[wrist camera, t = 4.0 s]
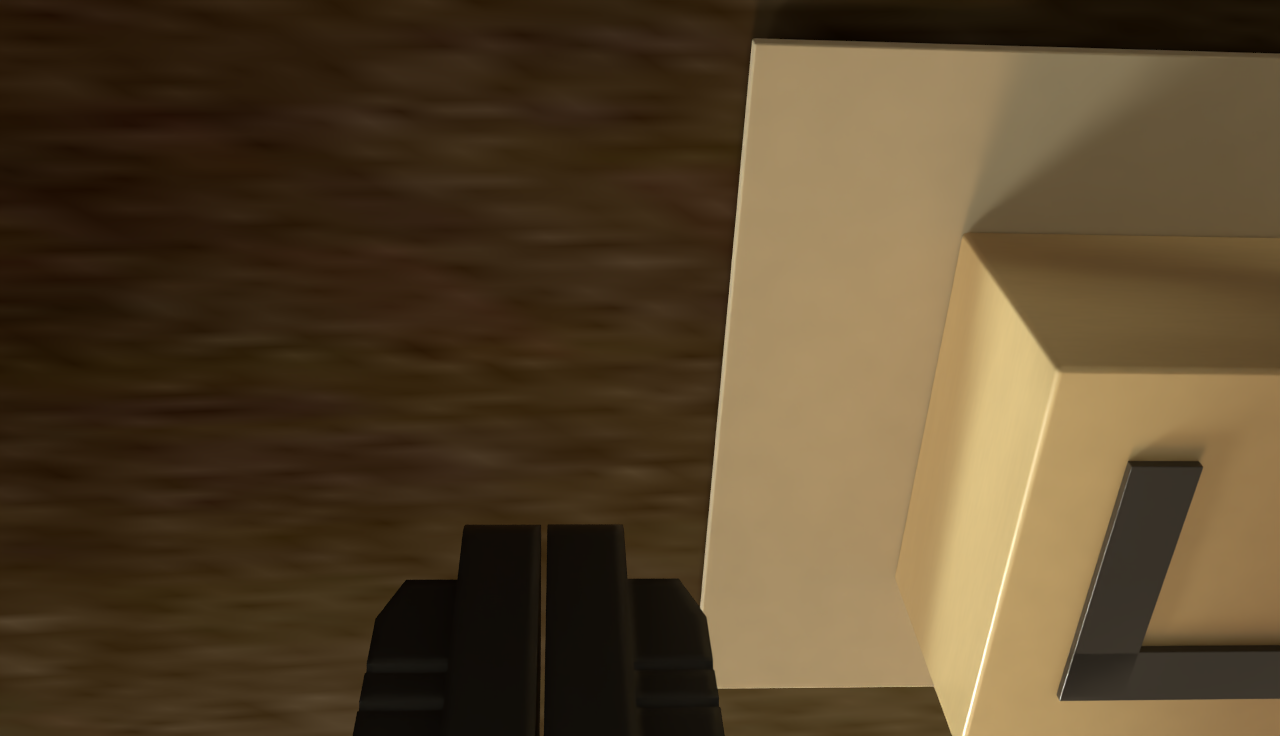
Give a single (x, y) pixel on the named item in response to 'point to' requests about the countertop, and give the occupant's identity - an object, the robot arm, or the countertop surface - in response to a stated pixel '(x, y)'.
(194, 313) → the countertop surface
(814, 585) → the runner
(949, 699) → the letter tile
